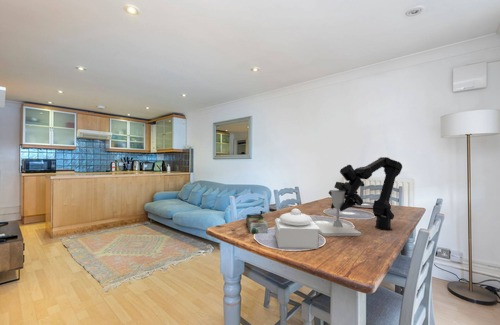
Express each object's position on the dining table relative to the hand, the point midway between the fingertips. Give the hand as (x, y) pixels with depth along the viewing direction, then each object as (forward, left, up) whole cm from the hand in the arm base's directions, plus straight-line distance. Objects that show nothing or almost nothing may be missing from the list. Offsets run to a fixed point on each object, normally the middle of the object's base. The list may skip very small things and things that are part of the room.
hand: (335, 209), depth 118 cm
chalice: (-1, 0, -9) cm, 9 cm away
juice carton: (+39, -15, -14) cm, 44 cm away
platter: (-3, -8, -13) cm, 16 cm away
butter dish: (+23, +8, -14) cm, 28 cm away
